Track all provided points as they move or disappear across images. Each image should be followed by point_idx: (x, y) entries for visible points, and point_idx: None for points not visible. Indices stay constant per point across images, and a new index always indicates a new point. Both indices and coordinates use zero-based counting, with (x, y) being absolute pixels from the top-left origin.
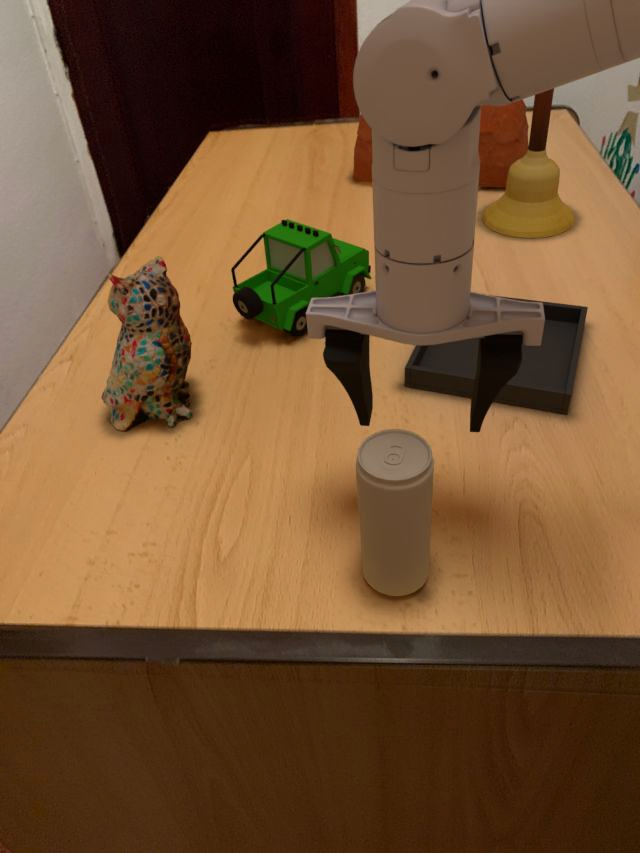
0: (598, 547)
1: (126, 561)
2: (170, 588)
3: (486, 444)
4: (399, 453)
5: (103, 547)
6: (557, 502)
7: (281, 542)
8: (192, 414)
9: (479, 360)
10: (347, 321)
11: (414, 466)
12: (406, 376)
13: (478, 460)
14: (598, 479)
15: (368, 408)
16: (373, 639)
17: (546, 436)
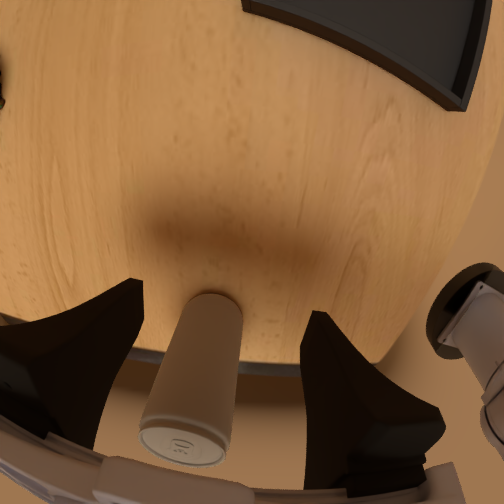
0: (399, 298)
1: (19, 278)
2: (51, 304)
3: (344, 142)
4: (186, 449)
5: (3, 264)
6: (391, 246)
7: (108, 274)
8: (3, 102)
9: (318, 468)
10: (37, 493)
11: (205, 460)
12: (244, 5)
13: (327, 170)
14: (439, 219)
15: (131, 333)
16: None
17: (417, 142)
